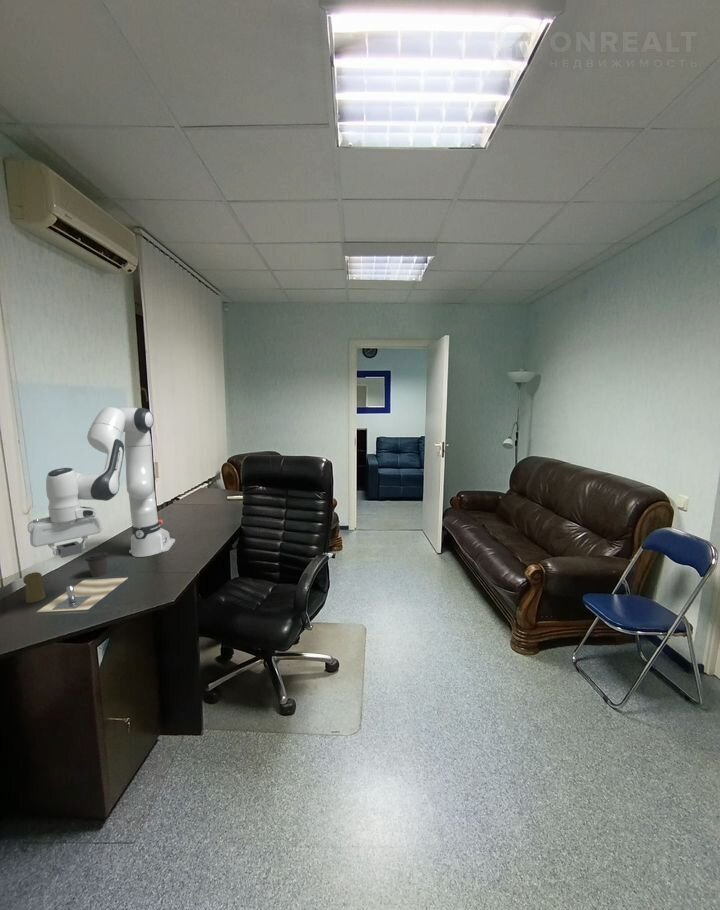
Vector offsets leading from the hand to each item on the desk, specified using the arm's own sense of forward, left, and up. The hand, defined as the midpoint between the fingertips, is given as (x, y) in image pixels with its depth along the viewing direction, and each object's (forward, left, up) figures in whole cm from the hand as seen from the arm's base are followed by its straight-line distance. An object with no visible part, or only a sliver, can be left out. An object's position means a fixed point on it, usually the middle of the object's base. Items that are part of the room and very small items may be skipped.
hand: (69, 551), depth 135 cm
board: (-5, 0, -20) cm, 21 cm away
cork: (-3, -17, -20) cm, 27 cm away
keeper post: (+2, 0, -19) cm, 19 cm away
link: (0, 0, -1) cm, 1 cm away
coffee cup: (-22, -6, -20) cm, 30 cm away
